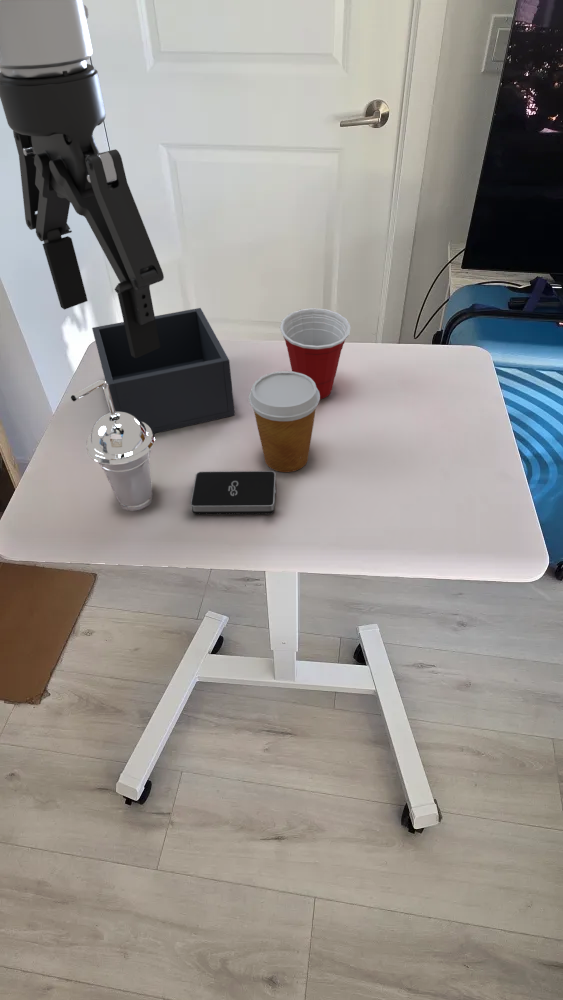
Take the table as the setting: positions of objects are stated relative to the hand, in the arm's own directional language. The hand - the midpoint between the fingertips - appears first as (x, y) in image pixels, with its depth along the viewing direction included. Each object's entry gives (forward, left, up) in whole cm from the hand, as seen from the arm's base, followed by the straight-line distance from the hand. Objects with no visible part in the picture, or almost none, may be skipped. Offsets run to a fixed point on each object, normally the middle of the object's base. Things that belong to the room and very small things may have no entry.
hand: (108, 326), depth 61 cm
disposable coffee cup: (+19, +10, -29) cm, 36 cm away
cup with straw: (-3, +6, -29) cm, 30 cm away
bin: (+3, +30, -29) cm, 42 cm away
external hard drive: (+11, +3, -29) cm, 31 cm away
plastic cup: (+27, +26, -29) cm, 48 cm away
